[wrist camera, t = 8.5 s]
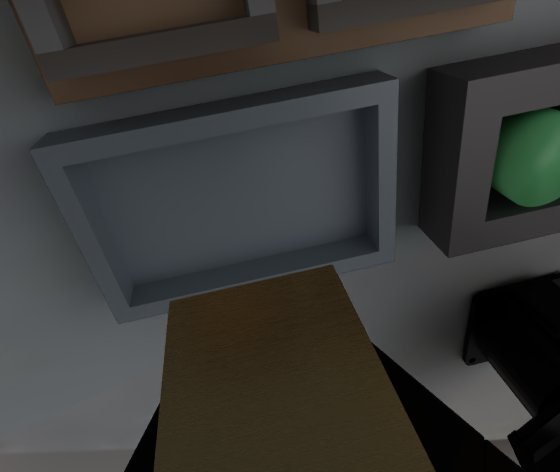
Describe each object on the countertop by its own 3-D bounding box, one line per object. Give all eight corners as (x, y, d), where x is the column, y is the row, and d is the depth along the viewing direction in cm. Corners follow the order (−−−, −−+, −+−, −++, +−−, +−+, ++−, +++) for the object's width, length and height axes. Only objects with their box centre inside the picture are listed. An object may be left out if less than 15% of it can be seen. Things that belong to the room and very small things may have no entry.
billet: (341, 369, 12) (449, 651, 7) (209, 402, 11) (218, 721, 6) (332, 264, 10) (481, 563, 5) (169, 301, 9) (135, 663, 4)
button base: (556, 195, 22) (603, 222, 19) (418, 226, 21) (448, 258, 18) (599, 35, 17) (668, 42, 15) (427, 68, 17) (468, 81, 14)
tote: (378, 239, 21) (394, 261, 19) (125, 296, 20) (118, 324, 18) (378, 70, 16) (398, 78, 15) (47, 133, 15) (28, 150, 14)
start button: (537, 173, 20) (580, 196, 18) (463, 189, 20) (497, 215, 17) (556, 92, 18) (608, 107, 15) (473, 109, 17) (514, 126, 15)
